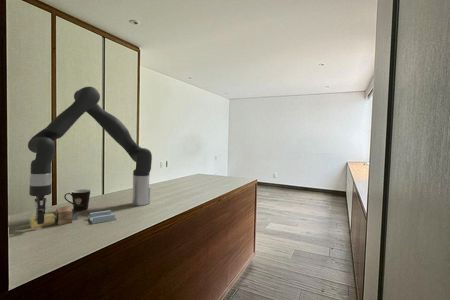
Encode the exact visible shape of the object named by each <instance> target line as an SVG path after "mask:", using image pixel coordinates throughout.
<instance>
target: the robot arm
mask: <svg viewBox="0 0 450 300" xmlns="http://www.w3.org/2000/svg"><path fill="white" fill-rule="evenodd" d="M73 99H74V101H73V102H72V104H71V105H69V106H68V107H67V108H66V109H64V110H63V111H62V112H61V113H59V114H58V115H57V116H55V118H54V119H52V121H51V122H49V124H48V125H47V126H46V127H44V128H43V129H42V130H40V131H38V133H36V134H34V135H33V136H32V137H31V138H30V140H29V141H28V142H27V148H28V150H29V151H30V152H31V153H33V154H35V158H34V159H33V160H32V161H31V162H30V175H29V186H28V187H29V188H28V189H29V190H28V191H29V196H31V197H35V198H34V207H35V211H36V215H35V216H38V217H37V224H43V223H44V215H45V214H46V209H47V198H46V197H45V196H49V195H51V194H52V186H53V185H52V181H53V179H52V178H53V177H52V162H53V159H54V156H55V152H56V145H55V140H59V139H61V138H62V137H64V135H65V134H66V133H67V132H68V131H69V130H70V128H72V126H73V125H74V124H75V123H76V122H77V121H78V120H79V119H80V118H81V116H82V115H84V114H85V113H87V114H88V115H89V116H90V117H92V118H93V119H94V121H96V123H97V124H98V125H99V126H100V127H101V128H102V129H104V131H105V132H106V133H107V134H108V135H109V136H110V137H111V138H112V139H113V140H114V141H115V142H116V143H117V144H118V145H120V147H122V148H123V149H124V151H125V152H126V153H127V154H128V155H129V157H130V159H131V160H132V161H133V162H135V163H136V164H135V165H136V166H135V169H134V170H133V171H132V200H131V204H132V205H134V206H146V205H149V204H150V203H151V187H150V173H151V171H152V162H153V161H152V160H153V154H152V152H151V150H150V149H148V148H145V147H144V148H143V147H141V146H140V145H139V144H138V143H137V142H136V141H134V139H133V137H132V136H131V133H130V131H129V129H128V128H127V127H126V126H125V124H124V123H123V122H122V121H121V120H120V119H119V118H117V117H116V116H114V115H113V114H111V113H109V111H108V112H107V111H106V110H105V109H103V108H102V106H100V105H99V102H100V100H101V95H100V92H99V91H98V89H96V88H95V87H94V86H85V87H82V88H80V89H78V90H76V91H75V92H74V94H73Z"/></svg>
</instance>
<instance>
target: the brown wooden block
mask: <svg viewBox="0 0 450 300" xmlns="http://www.w3.org/2000/svg"><path fill="white" fill-rule="evenodd" d="M55 209H56V210H55V211H56V213H55V216H57V215H58V223H57V224H58V226H61V225H68V224H72V223H73V220H72V213H73V210H72V208H71V207H70V206H69V205H68V206H60V207H55Z"/></svg>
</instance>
